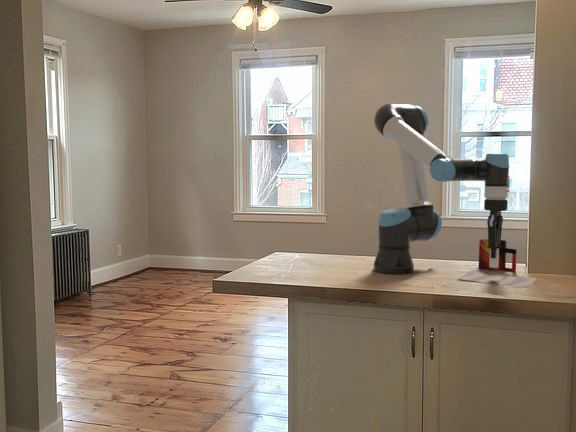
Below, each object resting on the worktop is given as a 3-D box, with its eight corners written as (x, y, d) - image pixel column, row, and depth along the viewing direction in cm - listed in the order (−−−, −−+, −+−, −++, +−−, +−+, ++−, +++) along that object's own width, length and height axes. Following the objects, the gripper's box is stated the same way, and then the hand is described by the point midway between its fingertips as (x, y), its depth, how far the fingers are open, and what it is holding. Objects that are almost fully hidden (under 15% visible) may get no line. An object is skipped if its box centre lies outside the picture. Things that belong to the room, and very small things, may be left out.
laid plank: (495, 287, 200) (495, 284, 200) (506, 278, 215) (506, 275, 215) (527, 291, 195) (527, 287, 195) (536, 281, 210) (537, 278, 210)
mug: (515, 276, 221) (516, 244, 220) (476, 273, 227) (477, 241, 226) (518, 272, 230) (519, 240, 228) (480, 269, 236) (481, 238, 235)
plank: (457, 282, 206) (458, 278, 206) (471, 273, 222) (472, 270, 222) (494, 287, 200) (494, 284, 200) (505, 278, 216) (506, 275, 215)
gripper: (503, 200, 199) (500, 271, 201) (511, 198, 210) (509, 265, 212) (479, 199, 203) (477, 269, 205) (489, 197, 214) (487, 263, 216)
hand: (493, 267), depth 209 cm, fingers closed
